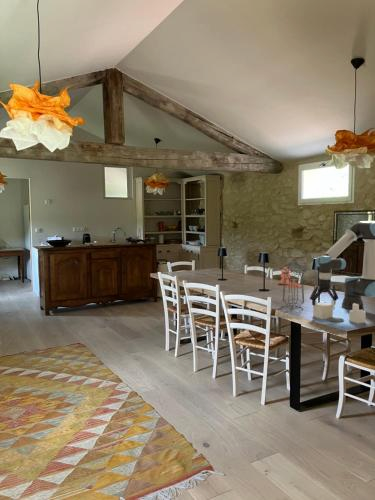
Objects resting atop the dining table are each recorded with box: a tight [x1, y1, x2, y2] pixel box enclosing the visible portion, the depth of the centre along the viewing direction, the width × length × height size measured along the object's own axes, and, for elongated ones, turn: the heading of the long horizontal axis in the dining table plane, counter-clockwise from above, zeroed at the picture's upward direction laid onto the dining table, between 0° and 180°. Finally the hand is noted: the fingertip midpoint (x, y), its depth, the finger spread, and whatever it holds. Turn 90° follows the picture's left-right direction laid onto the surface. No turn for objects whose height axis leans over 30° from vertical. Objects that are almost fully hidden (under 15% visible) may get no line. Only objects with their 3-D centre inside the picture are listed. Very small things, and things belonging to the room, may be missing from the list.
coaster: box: [327, 316, 345, 323], centre depth 258 cm, size 10×10×1 cm
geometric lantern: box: [280, 261, 308, 309], centre depth 296 cm, size 16×16×35 cm
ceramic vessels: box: [279, 266, 303, 290], centre depth 385 cm, size 35×21×19 cm, turn 11°
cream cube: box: [312, 301, 334, 320], centre depth 266 cm, size 9×9×9 cm
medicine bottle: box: [348, 303, 367, 324], centre depth 253 cm, size 7×7×12 cm
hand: (323, 309), depth 265 cm, fingers open, 13 cm apart
